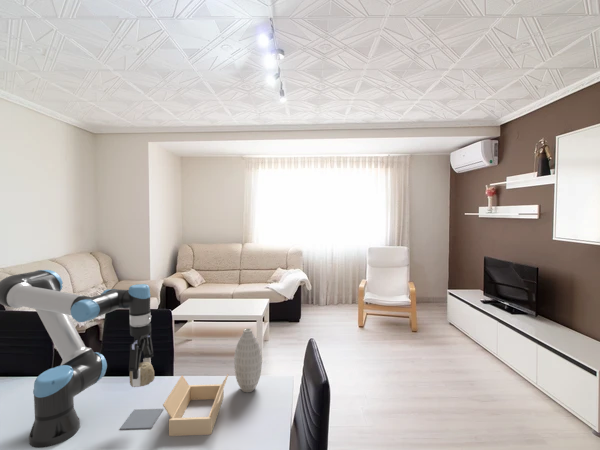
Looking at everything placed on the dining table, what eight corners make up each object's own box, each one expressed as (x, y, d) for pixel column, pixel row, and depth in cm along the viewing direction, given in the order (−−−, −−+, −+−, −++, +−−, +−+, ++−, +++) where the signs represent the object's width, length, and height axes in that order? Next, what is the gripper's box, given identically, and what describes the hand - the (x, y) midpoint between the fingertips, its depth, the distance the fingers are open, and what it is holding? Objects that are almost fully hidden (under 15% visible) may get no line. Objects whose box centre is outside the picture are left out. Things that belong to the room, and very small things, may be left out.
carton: (162, 436, 119) (161, 406, 118) (183, 398, 143) (182, 373, 143) (218, 434, 120) (217, 404, 119) (229, 397, 144) (229, 372, 144)
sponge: (137, 398, 124) (149, 378, 122) (119, 382, 125) (131, 362, 124) (153, 385, 133) (165, 366, 131) (136, 370, 134) (147, 352, 133)
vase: (259, 396, 144) (259, 334, 143) (231, 396, 144) (230, 334, 144) (263, 381, 157) (263, 325, 156) (237, 381, 157) (236, 325, 156)
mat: (119, 429, 123) (119, 428, 123) (134, 410, 135) (134, 409, 135) (151, 428, 123) (151, 427, 123) (163, 409, 135) (163, 408, 135)
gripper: (137, 333, 117) (139, 394, 118) (160, 315, 139) (162, 366, 139) (116, 334, 117) (118, 395, 117) (143, 315, 138) (144, 367, 139)
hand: (142, 379), depth 128 cm, fingers closed on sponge, 9 cm apart
